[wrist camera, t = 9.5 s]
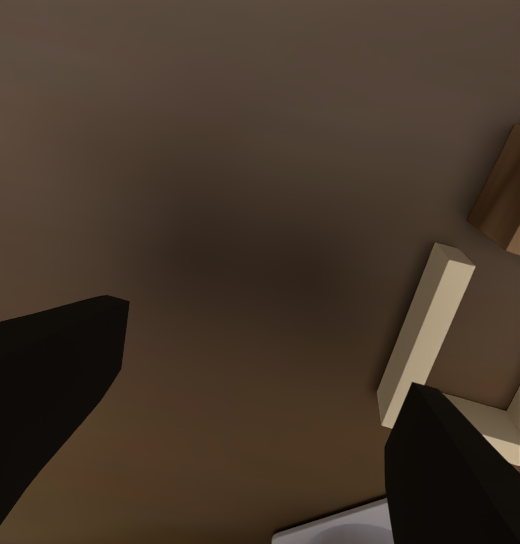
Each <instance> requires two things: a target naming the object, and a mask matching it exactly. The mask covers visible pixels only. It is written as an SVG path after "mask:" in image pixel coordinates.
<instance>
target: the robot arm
mask: <svg viewBox="0 0 520 544" xmlns="http://www.w3.org/2000/svg"><path fill="white" fill-rule="evenodd" d="M129 302H130V301H126V300H123V299H119V298H116V297H112V296H109V295H104V296H98V297H94V298H90V299H86V300H82V301H78V302H75V303H71V304H67V305H64V306H60V307H56V308H53V309H49V310H46V311H42V312H38V313H34V314H31V315H26V316H22V317H18V318H14V319H9V320H5V321H1V322H0V525H1V523H2V522H3V521H4V519H5V518H6V516H7V515H8V514H9V512H10V511H11V509H12V508H13V507H14V505H15V504H16V502H17V501H18V499H19V498H20V497H21V495H22V494H23V492H24V491H25V490H26V488H27V487H28V486H29V485H30V483H31V482H32V481H33V479H34V478H35V477H36V476H37V474H38V473H39V472H40V471H41V470H42V468H43V467H44V466H45V465H46V464H47V463H48V461H49V460H50V459H51V458H52V457H53V456H54V455H55V453H56V452H57V451H58V450H59V449H60V448H61V446H62V445H63V444H64V443H65V442H66V441H67V440H68V438H69V437H70V436H71V435H72V434H73V433H74V431H75V430H76V429H77V428H78V427H79V426H80V425H81V423H82V422H83V421H84V420H85V419H86V417H87V416H88V415H89V414H90V413H91V412H92V410H93V409H94V408H95V407H96V406H97V404H98V403H99V402H100V401H101V399H102V398H103V396H104V395H105V393H106V392H107V390H108V389H109V387H110V386H111V384H112V383H113V381H114V380H115V378H116V376H117V375H118V373H119V372H120V370H121V366H122V358H123V350H124V342H125V334H126V326H127V318H128V310H129ZM385 489H386V496H387V498H385V499H382V500H378V501H375V502H372V503H369V504H366V505H363V506H360V507H357V508H354V509H350V510H347V511H344V512H341V513H338V514H335V515H332V516H329V517H326V518H322V519H319V520H316V521H313V522H310V523H307V524H304V525H301V526H298V527H294V528H291V529H288V530H285V531H282V532H279V533H276V534H274V535H273V537H272V544H520V473H519V472H518V471H517V470H516V469H515V468H514V467H513V466H512V465H511V464H510V463H509V462H508V461H507V460H506V459H505V458H504V457H503V456H502V455H501V454H500V453H499V452H498V451H497V450H496V449H495V448H494V447H493V446H492V445H491V444H490V443H489V442H488V441H487V439H486V438H485V437H484V436H483V435H482V434H481V433H480V432H479V431H478V430H477V429H476V428H475V427H474V426H473V425H472V423H471V422H470V421H469V420H468V419H467V418H466V417H465V416H464V415H463V414H462V413H461V412H460V411H459V410H458V408H457V407H456V406H455V405H454V404H453V403H452V402H451V401H450V400H449V399H448V398H447V397H446V396H445V395H444V394H443V393H442V392H440V391H439V390H438V389H436V388H432V387H429V386H425V385H422V384H418V383H415V382H412V383H411V386H410V388H409V390H408V393H407V395H406V397H405V400H404V402H403V405H402V407H401V409H400V412H399V414H398V416H397V419H396V421H395V424H394V426H393V428H392V431H391V433H390V436H389V438H388V440H387V443H386V445H385Z"/></svg>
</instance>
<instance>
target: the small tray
mask: <svg viewBox="0 0 520 544" xmlns="http://www.w3.org/2000/svg"><path fill="white" fill-rule="evenodd" d="M474 269H475V265H474V264H473V263H472V262H471V261H470V260H469V259H468V258H467V257H466V256H465V255H464V254H463V253H462V252H461V251H460V250H459V249H458V248H455V247H451V246H447V245H444V244H440V243H436V242H435V244H434V246H433V249H432V251H431V254H430V256H429V259H428V262H427V264H426V267H425V269H424V272H423V274H422V277H421V280H420V282H419V285H418V287H417V290H416V292H415V295H414V298H413V300H412V303H411V305H410V308H409V310H408V313H407V316H406V318H405V321H404V323H403V326H402V328H401V331H400V334H399V336H398V339H397V341H396V344H395V346H394V349H393V352H392V354H391V357H390V359H389V362H388V364H387V367H386V370H385V372H384V375H383V377H382V380H381V382H380V385H379V388H378V390H377V398H378V405H379V412H380V419H381V425H382V426H385V427H389V428H393V426H394V424H395V421H396V419H397V416H398V414H399V412H400V409H401V407H402V405H403V402H404V400H405V397H406V395H407V393H408V390H409V388H410V386H411V383H412V382H415V383H418V384H422V385H424V384H425V382H426V380H427V377H428V375H429V373H430V370H431V368H432V366H433V364H434V361H435V359H436V357H437V354H438V352H439V350H440V347H441V345H442V343H443V341H444V338H445V336H446V334H447V331H448V329H449V327H450V324H451V322H452V320H453V317H454V315H455V313H456V311H457V308H458V306H459V304H460V301H461V299H462V297H463V294H464V292H465V290H466V288H467V285H468V283H469V281H470V278H471V276H472V274H473V271H474ZM443 394H444V395H445V396H446V397H447V398H448V399H449V400H450V401H451V402H452V403H453V404H454V405H455V406H456V407H457V408H458V410H459V411H460V412H461V413H462V414H463V415H464V416H465V417H466V418H467V419H468V420H469V421H470V422H471V423H472V425H473V426H474V427H475V428H476V429H477V430H478V431H479V432H480V433H481V434H482V435H483V436H484V437H485V438H486V439H487V441H488V442H489V443H490V444H491V445H492V446H493V447H494V448H495V449H496V450H497V451H498V452H499V453H500V454H501V455H502V456H503V457H504V458H505V459H506V460H507V461H508V462H509V463H511V464H515V465H518V466H520V387H519V388H518V390H517V392H516V394H515V396H514V398H513V400H512V402H511V404H510V405H509V407H508V409H507V411H505V410H501V409H498V408H494V407H491V406H487V405H484V404H480V403H477V402H473V401H470V400H466V399H463V398H459V397H456V396H452V395H449V394H445V393H443Z"/></svg>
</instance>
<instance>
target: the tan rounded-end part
mask: <svg viewBox="0 0 520 544" xmlns="http://www.w3.org/2000/svg"><path fill="white" fill-rule="evenodd" d="M467 221H468V222H470V223H471V224H472V225H474V226H475V227H476V228H477V229H479V230H480V231H481V232H483V233H484V234H485V235H486V236H488V237H489V238H490V239H492V240H493V241H494V242H495V243H497V244H498V245H499V246H500V247H502V248H503V249H504V250H506V251H508V252H511V253H514V254H517V255H520V124H515V125H514V127H513V129H512V131H511V133H510V135H509V137H508V139H507V141H506V143H505V145H504V147H503V149H502V151H501V153H500V155H499V157H498V159H497V161H496V163H495V165H494V167H493V169H492V171H491V173H490V175H489V177H488V179H487V181H486V183H485V185H484V187H483V189H482V191H481V193H480V195H479V197H478V199H477V201H476V203H475V205H474V207H473V209H472V211H471V213H470V215H469V217H468V219H467Z"/></svg>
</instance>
